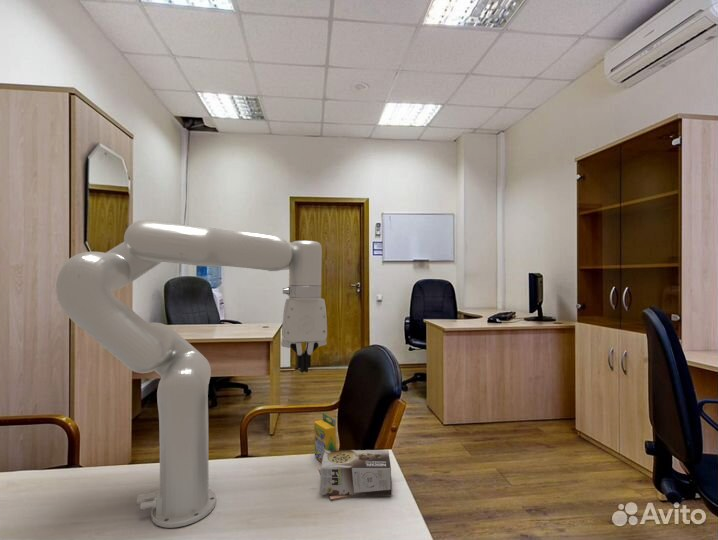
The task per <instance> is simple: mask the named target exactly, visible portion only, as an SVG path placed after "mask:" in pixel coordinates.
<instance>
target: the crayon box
mask: <svg viewBox="0 0 718 540" xmlns="http://www.w3.org/2000/svg"><path fill="white" fill-rule="evenodd" d="M327 418H328V419H329V420H328V419H327ZM330 420H331V421H330ZM313 425H314V426H313V430H314V433H313V434H314V435H313V436H314V458H315V459H316V460H318V461H320V463H322V460H323V455H324V451H325V450H337V435H336V434H337V430H336V429H337V427H336V419H335V418H333V417H331V416H330V415H328V414H326V413H324V412H322V419H320V420H316V421H314V422H313Z"/></svg>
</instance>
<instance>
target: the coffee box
mask: <svg viewBox="0 0 718 540" xmlns="http://www.w3.org/2000/svg"><path fill="white" fill-rule="evenodd" d="M389 452H390V451H389V449H365V450H364V449H362V450H361V449H357V450H356V449H349V450H348V449H347V450H346V449H344V450H343V449H336V450H325V451H324V455H323V460H322V462H321V466H320V467H321V475H320V489H319V490H320V491H319V494H320V495H321V496H322V495H324V496H325V495H326V496H329V495H360V496H390V497H391V496H393V495H392V493H393V489H392V488H393V487H392V486H393V481H392V467H391V460H390V459H391V458H390V453H389Z"/></svg>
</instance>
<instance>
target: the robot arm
mask: <svg viewBox="0 0 718 540" xmlns="http://www.w3.org/2000/svg"><path fill="white" fill-rule="evenodd" d="M322 248H323V247H322V245H321V243H320V242H319V241H316V240H315V241H314V240H305V239H304V240H295V241H292V242H289V241H287V240H286V239H284V238H282V237H280V236H277V235H272V234H271V235H270V234H262V233H255V232H246V231H238V230H230V229H229V230H228V229H221V228H212V227H205V226H197V225H189V224H181V223H175V222H168V221H167V222H166V221H160V220H159V221H158V220H152V219H151V220H150V219H143V220H137V221H135V222H133V223H131V224H130V225H129V226H128V227H127V229H126V230H125V232H124V237H123V242H120V243H118V245H116V246H114V247H113V248H111V249H109V250H108V251H106V252H103V251H102V252H101V251H83V252H81V253H77V254H75V255H73V256H72V257H70V258H69V259H68V260H67V261H65V263H64V264H63V265H62V266H61V268H60V270H59V271H58V273H57V274H58V275H57V277H56V282H55V293H56V298H57V301H58V303H59V306H60V307H61V310H62V312H64V314H65V316H67V317H68V318H69V319H70V320H71V321H72V322H73V324H75V325H76V326H78V327H79V328H81V330H83V331H84V333H85V332H86V334H88V335H89V336H90V337H91V338H93V339H94V340H95V341H96V342H97V343H98V345H100V346H101V347H102V348H104V349H105V350H106V351H107V352H108V353H110V354H111V355H112V356H113V357H114V358H116V359H117V360H118V361H119V362H120V363H121V364H123V365H124V366H125V367H126V368H128V369H129V370H130V371H132V372H134V373H139V374H147V373H152V372H155V373H156V374H158V375H159V376H160V380H159V381H158V386H157V392H156V399H157V410H158V421H159V423H158V424H159V425H158V427H159V433H158V434H159V489H157V490H154V491H153V492H151V493H141V494H137V497H136V506H140V510H141V511H143V510H148V509H151V520H152V522H153V523H154V525H156V526H158V527H161V528H170V529H173V528H180V527H185V526H188V525H192V524H194V523H197V522H198V521H200V520H202V519H203V518H205V517H206V516H208V515H209V514H210V513H212V511H213V510H214V508H215V506H216V504H217V494H216V493H215V491H214V490H212V489H210V487H209V470H210V469H209V397H208V395H209V384H210V380H211V376H212V368H211V364H210V362H209V360H208V359H207V358H206V357H205V356H204V355H203V353H201V352H200V351H199V350H198V349H197V348H195V346H193V345H192V344H191V343H189V341H187V339H185V338H184V337H183V336H181V335H180V334H179V333H178V331H176V330H174V329H173V328H171V327H170V326H169V325H167V324H164V323H161V322H147V321H146V319H144V318H142V317H141V316H140V315H138V314H137V313H136V312H135V311H134V309H132V308H131V307H130V306H128V305H127V304H125V303H124V302H123V301H121V300H120V299H118V298H117V297H116V295H114V293H113V292H115V291H118V290H121V289H123V288H124V287H127V286H128V285H130V284H132V283H133V282H134V281H135V280H138V279H139V278H140V277H141V276H143V275H145V274H147V273H148V272H149V271H150V270H153V269H154V268H156V267H157V266H158V265H160V264H161V263H169V264H170V263H173V264H180V265H188V266H189V265H191V266H199V267H207V268H208V267H209V268H215V267H230V268H231V267H234V268H241V269H243V268H245V269H252V270H262V271H268V272H279V271H284V270H285V271H287V270H289V274H288V276H289V278H288V286H287V287H283V288H282V294H283V295H287V296H288V298H286V299H285V303H284V307H283V315H282V316H283V317H282V328H281V329H282V330H281V331H282V334H281V335H282V338H281V342H280V345H281V347H283V348H287V349H291V350H293V352H295V354H296V368H297V369H299V371H300V373H303V374H304V373H309V368H311V365H312V363H311V362H312V359H311V357H312V355H313V353H314V352H315V351H316V350H317V348H319V347H322V346H326V345H327V344H328V343H327V338H328V319H327V307H326V301H325V298H322V261H323V259H322V258H323V249H322ZM303 343H304V344H305V343H306V345H305V350H304V352H303V348H302V347H303V346H302V344H303Z"/></svg>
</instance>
